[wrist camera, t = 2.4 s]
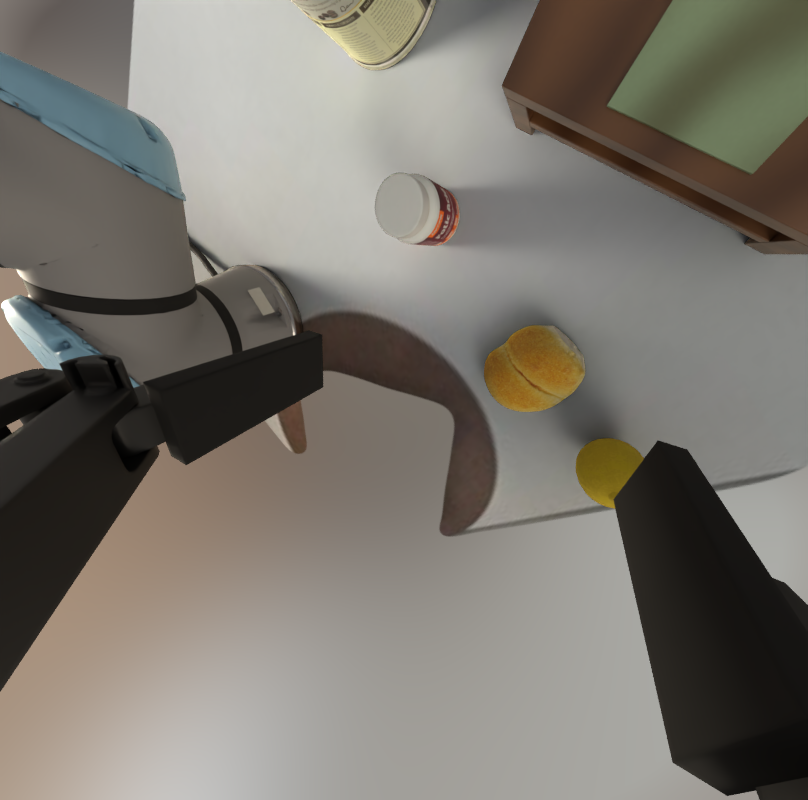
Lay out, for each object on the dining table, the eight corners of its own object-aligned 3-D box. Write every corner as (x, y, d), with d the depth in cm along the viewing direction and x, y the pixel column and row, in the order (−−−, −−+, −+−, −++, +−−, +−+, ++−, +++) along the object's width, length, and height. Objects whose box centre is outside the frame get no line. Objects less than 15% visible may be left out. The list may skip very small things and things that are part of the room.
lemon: (628, 417, 27) (649, 467, 21) (646, 464, 28) (671, 526, 22) (566, 431, 31) (567, 478, 24) (584, 473, 32) (590, 528, 25)
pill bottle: (458, 245, 28) (427, 242, 21) (414, 246, 30) (372, 244, 23) (463, 185, 26) (429, 160, 19) (414, 190, 27) (368, 169, 21)
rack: (515, 127, 22) (500, 84, 17) (623, -89, 17) (657, -271, 11) (764, 254, 20) (850, 254, 14) (1000, 47, 14) (1317, -101, 8)
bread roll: (472, 367, 32) (463, 379, 29) (541, 308, 27) (538, 315, 24) (523, 420, 32) (519, 438, 29) (601, 371, 27) (607, 387, 24)
